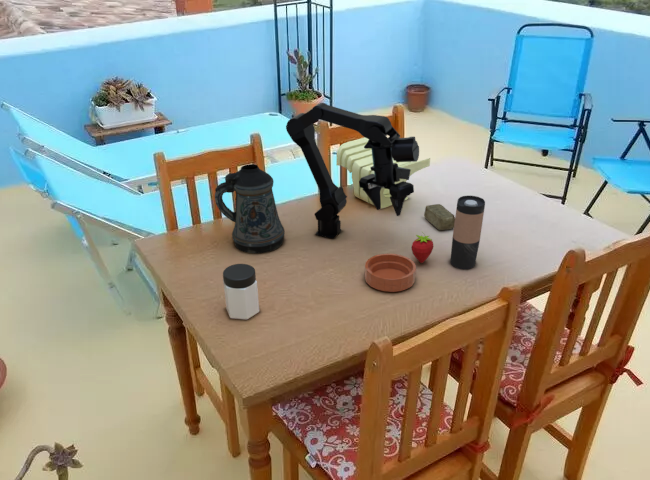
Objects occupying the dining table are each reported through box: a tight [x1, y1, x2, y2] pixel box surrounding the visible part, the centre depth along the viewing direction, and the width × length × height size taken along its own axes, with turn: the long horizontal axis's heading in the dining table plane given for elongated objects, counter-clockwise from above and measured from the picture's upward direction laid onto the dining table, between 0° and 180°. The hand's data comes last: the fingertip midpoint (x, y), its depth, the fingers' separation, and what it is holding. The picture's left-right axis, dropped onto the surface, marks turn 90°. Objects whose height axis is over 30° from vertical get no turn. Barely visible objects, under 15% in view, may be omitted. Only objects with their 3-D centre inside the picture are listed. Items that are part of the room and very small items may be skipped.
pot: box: [364, 252, 417, 293], centre depth 164 cm, size 14×14×5 cm
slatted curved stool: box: [336, 137, 431, 209], centre depth 207 cm, size 30×16×18 cm, turn 38°
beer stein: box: [214, 163, 286, 254], centre depth 178 cm, size 16×19×25 cm
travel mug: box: [450, 195, 486, 270], centre depth 167 cm, size 8×8×20 cm
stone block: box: [423, 203, 455, 231], centre depth 193 cm, size 6×12×5 cm, turn 19°
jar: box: [222, 263, 260, 320], centre depth 150 cm, size 9×8×12 cm
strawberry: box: [411, 232, 434, 264], centre depth 170 cm, size 6×8×10 cm
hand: (388, 212), depth 176 cm, fingers open, 9 cm apart
